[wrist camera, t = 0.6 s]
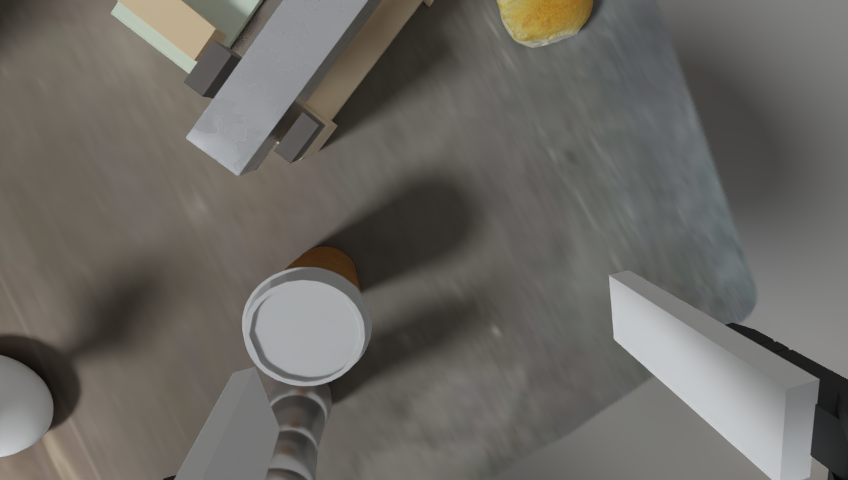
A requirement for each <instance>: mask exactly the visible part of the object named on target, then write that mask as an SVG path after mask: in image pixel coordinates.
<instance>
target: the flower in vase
mask: <svg viewBox="0 0 848 480" xmlns="http://www.w3.org/2000/svg"><path fill="white" fill-rule="evenodd" d="M52 418H53V399H52V396H51V393H50V391H49V389H48V387H47V385H46V384H45V382H44V381H43V380H42V379H41V378H40V376H38V375H37V374H36V373H35V372H34V371H33V370H31V369H30V368H29V367H27V366H26V365H24V364H22V363H21V362H19V361H16V360H14V359H12V358H9V357H6V356H3V355H0V457H3V456H8V455H11V454H14V453H17V452H19V451H21V450H23V449H26V448H28V447H30V446H32V445H33V444H35V443H36V442H38V441H39V440H40V439H41V438H42V437H43V436H44V435H45V434H46V432H47V431H48V429H49V427H50V425H51V422H52Z"/></svg>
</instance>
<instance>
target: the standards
mask: <svg viewBox="0 0 848 480" xmlns="http://www.w3.org/2000/svg"><path fill="white" fill-rule="evenodd" d="M433 1H434V0H382V2H381V3H380V4H379V6H378V7H377V8H376V10H375V11H374V12H373V14H372V15H371V16H370V18H369V19H368V21H367V22H366V23H365V25H364V26H363V27H362V29H361V30H360V31H359V33H358V34H357V35H356V37H355V38H354V39H353V41H352V42H351V43H350V45H349V46H348V47H347V49H346V50H345V51H344V53H343V54H342V55H341V57H340V58H339V59H338V61H337V62H336V63H335V65H334V66H333V67H332V69H331V70H330V71H329V73H328V74H327V75H326V77H325V78H324V79H323V81H322V82H321V83H320V85H319V86H318V88H317V89H316V90H315V92H314V93H313V94H312V96H311V97H310V98H309V100H308V101H307V102H306V104H305V105H304V106H303V108H302V109H301V110H300V112H299V113H298V114H297V116H296V117H295V118H294V120H293V121H292V122H291V124H290V125H289V126H288V128H287V129H286V130H285V132H284V133H283V134H282V136H281V137H280V138H279V140H278V141H277V143H278V144H279V145H278V146H277V147H276V149H275V150H274V151H275V152H276V153H277V154H279V155H280V156H281V157H283V158H284V159H285V160H287V161H288V162H289V163H292V162H294V161H297V160H302V159H303V158H305V157H307V156H309V155H312V154H314V153H316V152H318V151H319V150H320V149H321V147H322V146H323V145H324V143H325V142H326V141H327V139H328V138H329V137H330V135H331V134H332V133H333V132H334V130H335V129H336V128H337V125H336V124H335V123H334V122H333V121H332V120H333V118H334V117H335V116H336V114H337V113H338V112H339V110H340V109H341V108H342V106H343V105H344V104H345V103H346V101H347V100H348V99H349V97H350V96H351V95H352V93H353V92H354V91H355V89H356V88H357V87H358V85H359V84H360V83H361V82H362V80H363V79H364V78H365V76H366V75H367V74H368V72H369V71H370V70H371V68H372V67H373V66H374V65H375V63H376V62H377V61H378V59H379V58H380V57H381V55H382V54H383V53H384V51H385V50H386V49H387V47H388V46H389V45H390V44H391V42H392V41H393V40H394V38H395V37H396V36H397V34H398V33H399V32H400V30H401V29H402V28H403V26H404V25H405V24H406V23H407V21H408V20H409V19H410V17H411V16H412V15H413V13H414V12H415V11H416V9H417V8H418V7H419V6H420V4H421V3H422V2H424V3H425V4H426V5H427V6H428V7H429V6H430V5H431V4H432V3H433ZM242 58H243V55H242V54H240V53H238V52H236V51H234V50H232V49H230V48H228V47H226V46H224V45H222V44H221V43H219V42H217V41H215V40H212V42H211V43H210V45H209V46H208V48H207V49H206V50H205V52H204V53H203V55H202V56H201V58H200V59H199V61H198V62H197V64H196V65H195V66H194V68H193V69H192V71H191V72H190V74H189V75H188V77H187V78H186V80H185V81H184V83H186V84H187V85H188V86H189V87H191V88H192V89H193V90H195V91H196V92H197V93H199V94H200V95H201V96H203V97H209V98H214V97H215V96H216V94H217V93H218V92H219V90H220V89H221V87H222V86H223V85H224V83H225V82H226V80H227V79H228V77H229V76H230V75H231V73H232V72H233V70H234V69H235V68H236V66H237V65H238V63H239V62H240V60H241V59H242Z"/></svg>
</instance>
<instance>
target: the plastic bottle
mask: <svg viewBox="0 0 848 480" xmlns="http://www.w3.org/2000/svg"><path fill="white" fill-rule="evenodd" d="M268 400H269V403H270V405H271V408H272V410H273V413H274V415H275V418H276V420H277V423H278V425H279V428H280V431H279V435H278V438H277V441H276V445H275V448H274V451H273V455H272V458H271V462H270V465H269V468H268V472H267V475H266V478H265V480H316V464H317V454H318V447H319V444H320V440H321V437H322V433H323V429H324V427H325V425H326V423H327V420H328V418H329V415H330V412H331V408H332V399H331V391H330V388H329V386H328V384H327V383H324V384H320V385H315V386H297V385H290V384H287V383H284V382H281V381H279V382H278V383H277V384H276V386H275V387H274V389H273V390H272V391H271V393H270V395H269V397H268Z"/></svg>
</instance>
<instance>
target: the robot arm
mask: <svg viewBox="0 0 848 480" xmlns="http://www.w3.org/2000/svg"><path fill="white" fill-rule="evenodd" d="M609 281H610V294H611V306H612V318H613V331H614V340H616V341H617V342H618V343H619V344H620V345H621V346H622V347H623V348H625V349H626V350H627V351H628V352H629V353H630V354H631V355H632V356H634V357H635V358H636V359H637V360H638V361H639V362H640V363H641V364H643V365H644V366H645V367H646V368H647V369H648V370H649V371H650V372H652V373H653V374H654V375H655V376H656V377H657V378H658V379H660V380H661V381H662V382H663V383H664V384H665V385H666V386H667V387H669V388H670V389H671V390H672V391H673V392H674V393H675V394H676V395H678V396H679V397H680V398H681V399H682V400H683V401H684V402H685V403H687V404H688V405H689V406H690V407H691V408H692V409H693V410H695V411H696V412H697V413H698V414H699V415H700V416H701V417H702V418H703V419H704V420H706V421H707V422H708V423H709V424H710V425H711V426H712V427H714V428H715V429H716V430H717V431H718V432H719V433H720V434H721V435H722V436H724V437H725V438H726V439H727V440H728V441H729V442H730V443H731V444H733V445H734V446H735V447H736V448H737V449H738V450H739V451H741V452H742V453H743V454H744V455H745V456H746V457H747V458H748V459H749V460H751V461H752V462H753V463H754V464H755V465H756V466H757V467H758V468H760V469H761V470H762V471H763V472H764V473H765V474H766V475H768V476H769V477H770V478H771V479H772V480H802V479H806V478H809V477H810V470H811V460H812V457H813V458H815V459H816V460H817V461H819V462H820V463H821V464H823V465H824V466H826V467H827V468H828V469H829V472H828V480H848V379H846V378H844V377H842V376H840V375H838V374H836V373H834V372H833V371H831V370H829V369H827V368H825V367H823V366H822V365H820V364H818V363H816V362H814V361H812V360H810V359H809V358H807V357H805V356H803V355H801V354H799V353H797V352H796V351H794V350H789V348H788V347H786V346H784V345H783V344H781V343H779V342H774V341H773V339H771V338H770V337H768V336H766V335H764V334H762V333H760V332H758V331H756V330H755V329H751V328H748V327H745V326H742V325H738V324H735V323H730V324H726V325H724V324H722V323H720V322H718V321H717V320H715V319H713V318H711V317H710V316H708V315H706V314H704V313H703V312H701V311H699V310H697V309H696V308H694V307H692V306H690V305H689V304H687V303H685V302H683V301H682V300H680V299H678V298H676V297H675V296H673V295H671V294H669V293H668V292H666V291H664V290H662V289H661V288H659V287H657V286H655V285H654V284H652V283H650V282H648V281H647V280H645V279H643V278H641V277H640V276H638V275H636V274H634V273H633V272H631V271H629V270H627V271H623V272H619V273H615V274H612V275H609ZM279 431H280V428H279V425H278V423H277V420H276V418H275V415H274V413H273V410H272V408H271V405H270V403H269V400H268V398H267V395H266V393H265V390H264V388H263V386H262V383H261V381H260V378H259V376H258V373H257V371H256V368H255V367H252V368H249V369H245V370H241V371H237V372H233V374H232V375H231V377H230V379H229V381H228V383H227V384H226V386H225V388H224V390H223V392H222V394H221V395H220V397H219V399H218V401H217V403H216V404H215V406H214V408H213V410H212V412H211V413H210V415H209V417H208V419H207V421H206V423H205V424H204V426H203V428H202V430H201V432H200V433H199V435H198V437H197V439H196V441H195V442H194V444H193V446H192V448H191V450H190V452H189V453H188V455H187V457H186V459H185V461H184V462H183V464H182V466H181V468H180V470H179V471H178V473H177V475H175V476H171V477H168V478H164V479H163V480H265V478H266V475H267V472H268V468H269V465H270V462H271V458H272V455H273V451H274V448H275V445H276V441H277V438H278V435H279Z"/></svg>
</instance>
